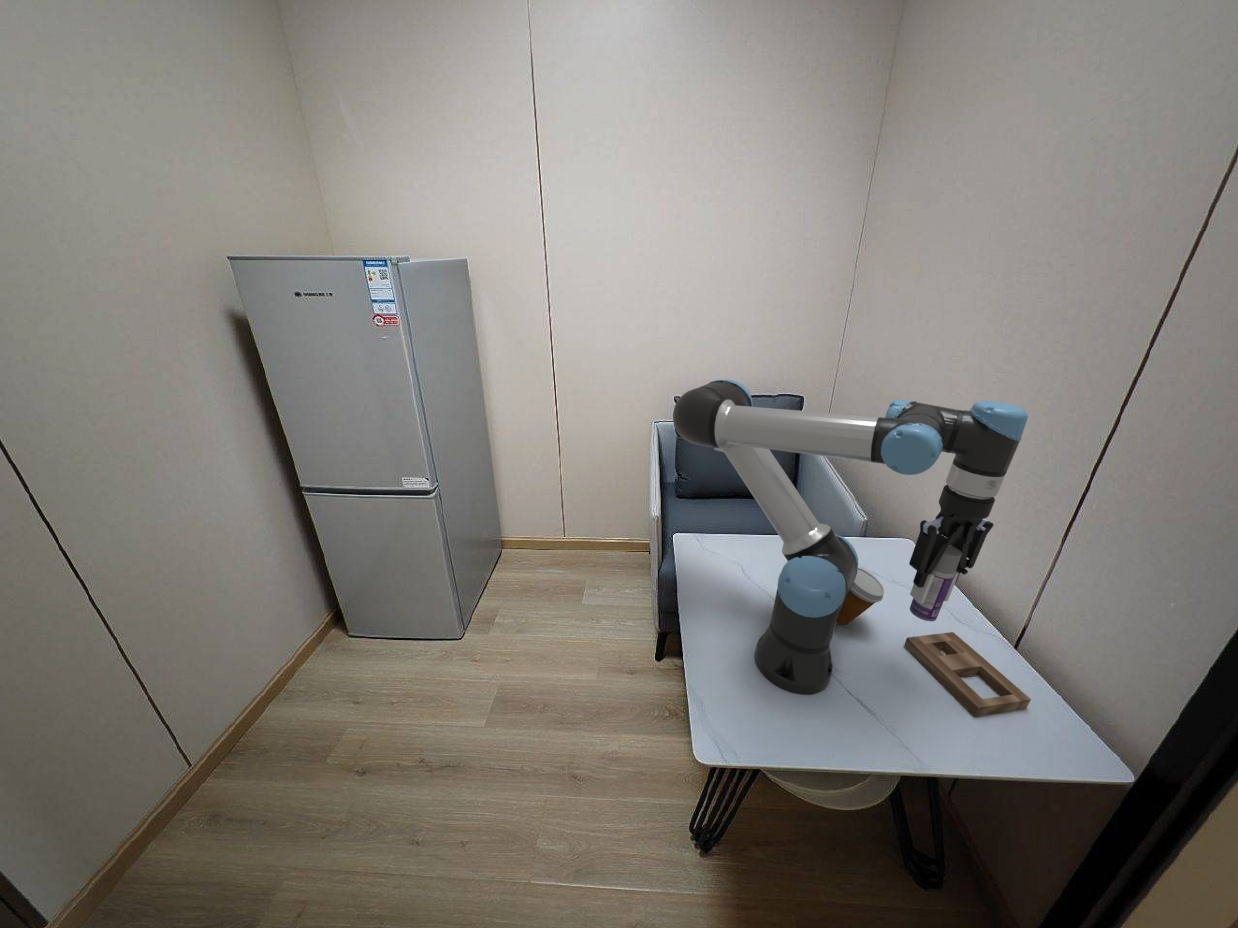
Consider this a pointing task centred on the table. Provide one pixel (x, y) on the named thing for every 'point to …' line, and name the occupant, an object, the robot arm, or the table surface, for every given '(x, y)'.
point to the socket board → (965, 673)
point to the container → (938, 585)
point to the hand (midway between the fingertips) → (928, 597)
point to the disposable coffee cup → (860, 597)
